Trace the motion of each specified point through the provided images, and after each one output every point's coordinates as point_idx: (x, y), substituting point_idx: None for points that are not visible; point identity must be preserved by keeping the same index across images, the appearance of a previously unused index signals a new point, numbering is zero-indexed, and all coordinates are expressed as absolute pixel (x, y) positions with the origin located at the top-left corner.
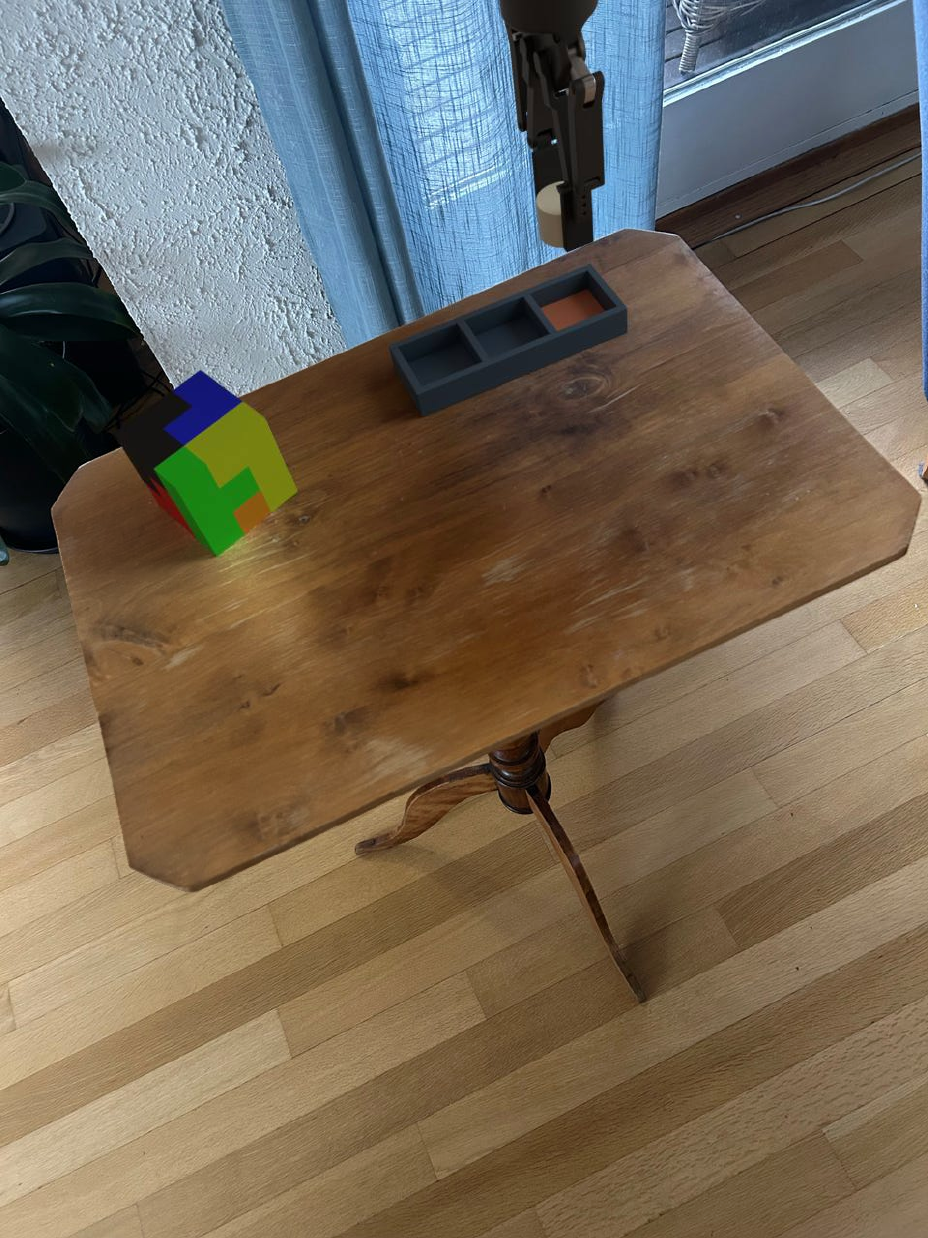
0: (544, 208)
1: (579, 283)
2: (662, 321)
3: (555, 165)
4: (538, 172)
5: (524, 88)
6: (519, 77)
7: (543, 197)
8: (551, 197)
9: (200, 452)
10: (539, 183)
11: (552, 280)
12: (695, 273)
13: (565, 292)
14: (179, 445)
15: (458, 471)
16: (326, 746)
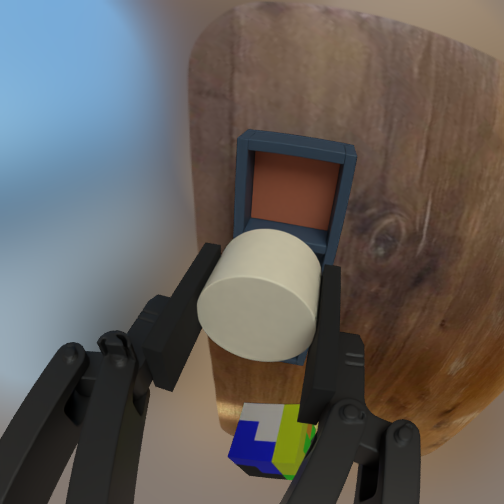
0: (262, 358)
1: (251, 157)
2: (367, 99)
3: (181, 332)
4: (185, 357)
5: (61, 462)
6: (54, 486)
7: (229, 342)
8: (238, 334)
9: (293, 474)
10: (195, 338)
11: (238, 197)
12: (311, 8)
13: (251, 176)
14: (280, 474)
15: (375, 352)
16: (438, 430)
